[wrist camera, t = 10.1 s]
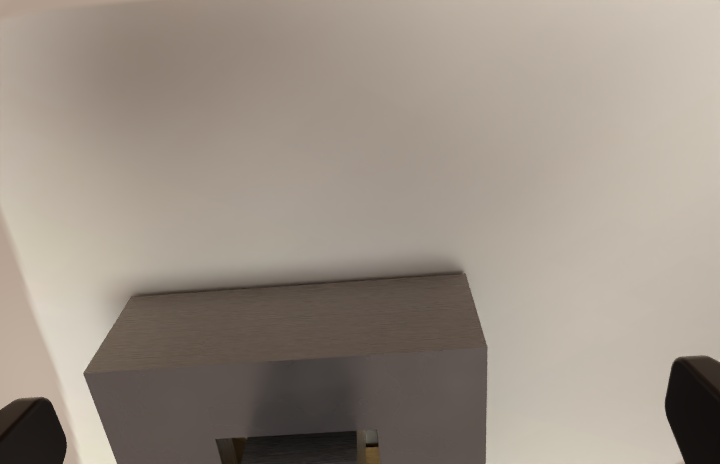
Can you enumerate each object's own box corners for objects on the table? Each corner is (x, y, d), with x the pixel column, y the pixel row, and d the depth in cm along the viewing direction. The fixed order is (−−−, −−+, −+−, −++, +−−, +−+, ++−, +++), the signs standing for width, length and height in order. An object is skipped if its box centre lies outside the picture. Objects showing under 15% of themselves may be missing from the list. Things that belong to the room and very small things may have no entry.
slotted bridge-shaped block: (465, 273, 23) (487, 347, 19) (466, 491, 28) (483, 584, 24) (131, 296, 23) (83, 373, 19) (195, 505, 29) (168, 599, 25)
